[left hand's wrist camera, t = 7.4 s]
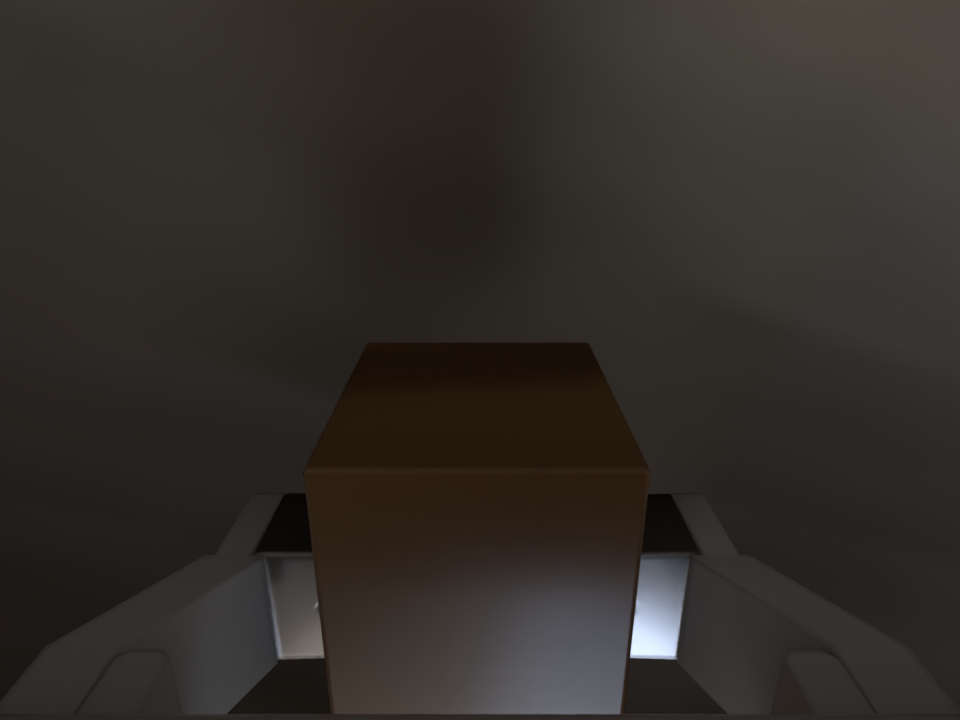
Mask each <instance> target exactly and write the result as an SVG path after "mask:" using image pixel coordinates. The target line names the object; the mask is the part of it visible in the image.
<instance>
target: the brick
mask: <svg viewBox="0 0 960 720" xmlns="http://www.w3.org/2000/svg"><path fill="white" fill-rule="evenodd" d="M303 475H304V484H305V492H306V501H307V510H308V519H309V527H310V536H311V545H312V554H313V563H314V571H315V580H316V589H317V598H318V606H319V615H320V624H321V633H322V641H323V650H324V659H325V668H326V677H327V685H328V694H329V703H330V712H331V714H624V709H625V700H626V690H627V681H628V672H629V663H630V654H631V645H632V636H633V626H634V617H635V608H636V599H637V590H638V581H639V572H640V562H641V553H642V544H643V535H644V526H645V517H646V508H647V499H648V489H649V480H650V470H649V467H648V465H647V463H646V461H645V459H644V457H643V455H642V453H641V451H640V449H639V447H638V444H637V442H636V440H635V438H634V436H633V434H632V432H631V430H630V428H629V426H628V424H627V422H626V420H625V418H624V415H623V413H622V411H621V409H620V407H619V405H618V403H617V401H616V399H615V397H614V395H613V393H612V391H611V388H610V386H609V384H608V382H607V380H606V378H605V376H604V374H603V372H602V370H601V368H600V366H599V364H598V362H597V359H596V357H595V355H594V353H593V351H592V349H591V347H590V345H589V344H588V343H368V344H366V346H365V348H364V350H363V352H362V354H361V356H360V358H359V360H358V362H357V364H356V366H355V368H354V370H353V372H352V374H351V376H350V378H349V380H348V382H347V384H346V386H345V388H344V390H343V392H342V394H341V396H340V398H339V400H338V402H337V404H336V406H335V408H334V410H333V412H332V414H331V416H330V418H329V420H328V422H327V424H326V426H325V428H324V430H323V432H322V434H321V436H320V439H319V441H318V443H317V445H316V447H315V449H314V451H313V453H312V455H311V457H310V459H309V461H308V463H307V465H306V467H305V469H304V472H303Z"/></svg>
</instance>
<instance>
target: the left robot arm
mask: <svg viewBox="0 0 960 720" xmlns="http://www.w3.org/2000/svg"><path fill="white" fill-rule="evenodd" d="M307 658H324V650H323V641H322V633H321V624H320V615H319V606H318V598H317V589H316V580H315V571H314V563H313V554H312V545H311V536H310V527H309V519H308V510H307V501H306V493H288V494H286V493H256V494H254V495H252V496H251V497H250V498H249V500H248V501H247V503H246V505H245V506H244V508H243V510H242V511H241V513H240V514H239V516H238V518H237V519H236V521H235V523H234V524H233V526H232V528H231V529H230V531H229V532H228V534H227V536H226V537H225V539H224V541H223V542H222V544H221V546H220V547H219V549H218V550H217V552H216V554H215V555H205V556H203V557H201V558H199V559H198V560H196V561H194V562H193V563H191V564H189V565H187V566H186V567H184V568H182V569H180V570H179V571H177V572H175V573H173V574H172V575H170V576H168V577H166V578H165V579H163V580H161V581H159V582H158V583H156V584H154V585H152V586H151V587H149V588H147V589H145V590H144V591H142V592H140V593H138V594H137V595H135V596H133V597H131V598H130V599H128V600H126V601H124V602H123V603H121V604H119V605H118V606H116V607H114V608H112V609H111V610H109V611H107V612H105V613H104V614H102V615H100V616H98V617H97V618H95V619H93V620H91V621H90V622H88V623H86V624H84V625H83V626H81V627H79V628H77V629H76V630H74V631H72V632H70V633H69V634H67V635H65V636H63V637H62V638H60V639H58V640H56V641H55V642H53V643H51V644H50V645H48V646H46V647H45V648H44V649H43V650H42V652H41V653H40V654H39V655H38V656H37V658H36V659H35V660H34V661H33V663H32V664H31V665H30V666H29V667H28V669H27V670H26V671H25V672H24V673H23V675H22V676H21V677H20V678H19V679H18V681H17V682H16V683H15V684H14V686H13V687H12V688H11V689H10V690H9V692H8V693H7V694H6V695H5V696H4V698H3V699H2V700H1V701H0V720H960V711H959V710H958V709H957V707H956V706H955V705H954V704H953V703H952V701H951V700H950V699H949V698H948V696H947V695H946V694H945V693H944V691H943V690H942V689H941V688H940V686H939V685H938V684H937V683H936V681H935V680H934V679H933V678H932V676H931V675H930V674H929V673H928V672H927V670H926V669H925V668H924V667H923V665H922V664H921V663H920V662H919V660H918V659H917V658H916V657H915V655H914V654H913V653H912V652H911V650H910V649H909V648H908V647H906V646H904V645H903V644H901V643H899V642H897V641H896V640H894V639H892V638H891V637H889V636H887V635H885V634H884V633H882V632H880V631H879V630H877V629H875V628H873V627H872V626H870V625H868V624H866V623H865V622H863V621H861V620H860V619H858V618H856V617H854V616H853V615H851V614H849V613H848V612H846V611H844V610H842V609H841V608H839V607H837V606H835V605H834V604H832V603H830V602H829V601H827V600H825V599H823V598H822V597H820V596H818V595H817V594H815V593H813V592H811V591H810V590H808V589H806V588H804V587H803V586H801V585H799V584H798V583H796V582H794V581H792V580H791V579H789V578H787V577H786V576H784V575H782V574H780V573H779V572H777V571H775V570H773V569H772V568H770V567H768V566H767V565H765V564H763V563H761V562H760V561H758V560H756V559H755V558H753V557H751V556H749V555H739V554H738V552H737V550H736V549H735V547H734V545H733V544H732V542H731V540H730V539H729V537H728V535H727V534H726V532H725V530H724V529H723V527H722V526H721V524H720V522H719V521H718V519H717V517H716V516H715V514H714V512H713V511H712V509H711V507H710V506H709V504H708V502H707V501H706V499H705V497H704V496H703V495H702V494H700V493H698V492H696V493H670V494H648V499H647V508H646V517H645V526H644V535H643V544H642V553H641V562H640V572H639V581H638V590H637V599H636V608H635V617H634V626H633V636H632V645H631V654H630V658H646V659H677V663H678V664H679V665H680V666H681V667H682V668H683V669H684V670H685V671H686V672H687V673H688V674H689V675H690V676H691V677H692V678H693V679H694V680H695V681H696V682H697V683H698V684H699V685H700V686H701V687H702V688H703V689H704V690H705V691H706V692H707V693H708V694H709V695H710V696H711V697H712V698H713V699H714V700H715V701H716V702H717V703H718V704H719V705H720V706H721V707H722V708H723V709H724V710H725V711H726V712H727V713H728V714H227V713H228V712H229V711H230V710H231V709H232V708H233V707H234V706H235V705H236V704H237V703H238V702H239V701H240V700H241V699H242V698H243V697H244V696H245V695H246V694H247V693H248V692H249V691H250V690H251V689H252V688H253V687H254V686H255V685H256V684H257V683H258V682H259V681H260V680H261V679H262V678H263V677H264V676H265V675H266V674H267V673H268V672H269V671H270V670H271V669H272V668H273V667H274V666H275V665H276V664H277V663H278V661H277V659H307Z"/></svg>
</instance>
